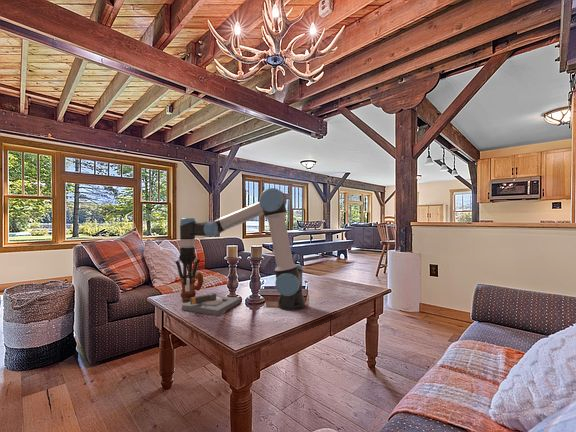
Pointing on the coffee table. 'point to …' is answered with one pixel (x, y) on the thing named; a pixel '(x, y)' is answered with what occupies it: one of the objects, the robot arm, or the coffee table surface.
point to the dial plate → (227, 304)
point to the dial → (207, 300)
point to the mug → (192, 287)
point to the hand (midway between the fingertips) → (187, 290)
